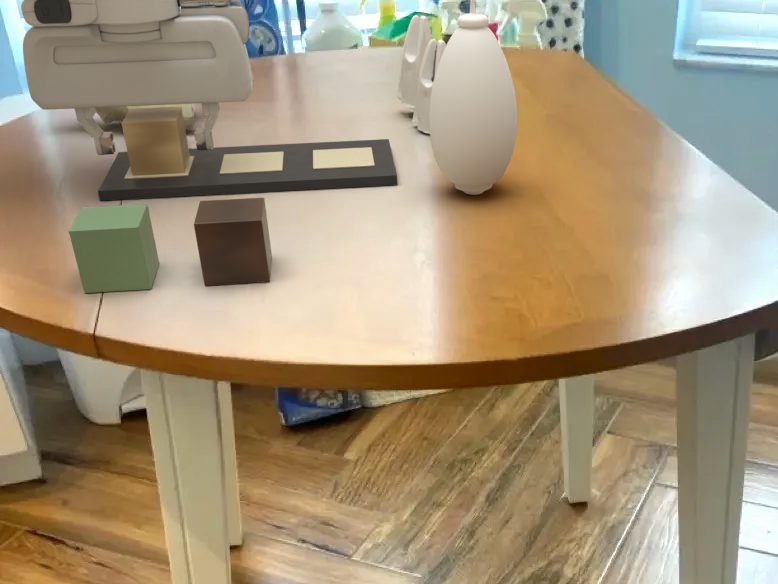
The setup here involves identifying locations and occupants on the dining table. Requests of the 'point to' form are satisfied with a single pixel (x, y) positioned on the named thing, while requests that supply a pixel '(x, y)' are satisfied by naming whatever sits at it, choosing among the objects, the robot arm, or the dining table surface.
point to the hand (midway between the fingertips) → (156, 151)
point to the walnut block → (233, 241)
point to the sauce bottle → (473, 107)
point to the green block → (114, 248)
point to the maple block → (156, 140)
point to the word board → (259, 170)
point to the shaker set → (419, 70)
